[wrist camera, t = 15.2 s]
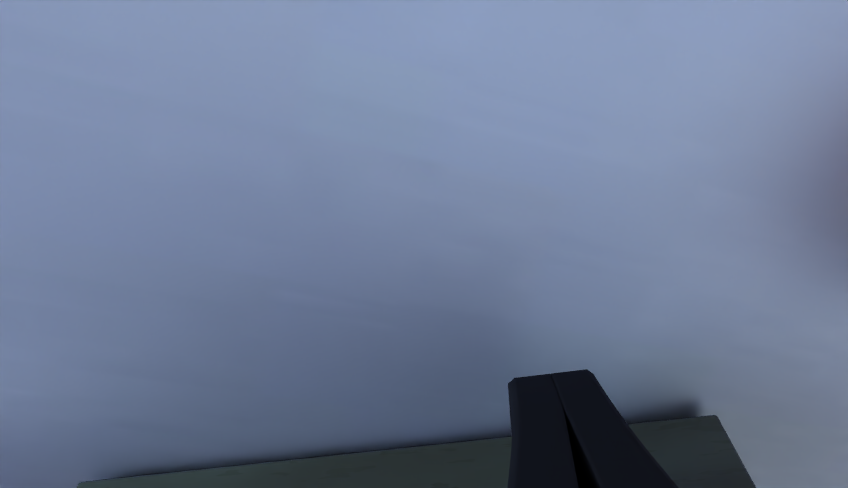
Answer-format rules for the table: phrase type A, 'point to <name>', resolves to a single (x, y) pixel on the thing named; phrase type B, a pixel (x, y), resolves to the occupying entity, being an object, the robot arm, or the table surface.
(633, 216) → the table surface
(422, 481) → the drawer
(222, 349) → the table surface
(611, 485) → the robot arm
